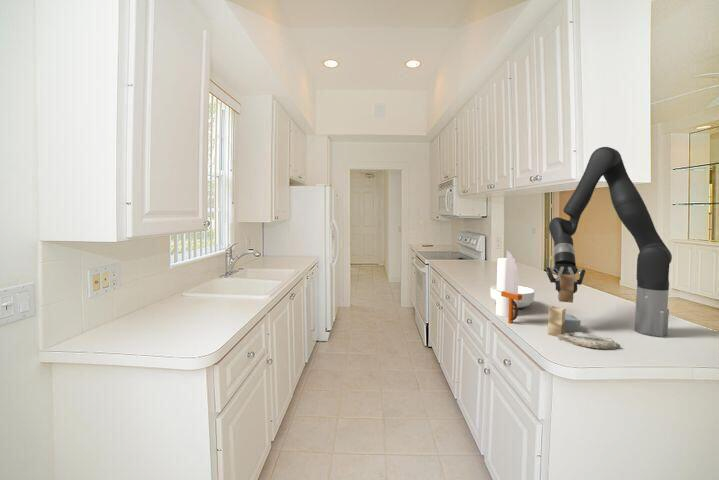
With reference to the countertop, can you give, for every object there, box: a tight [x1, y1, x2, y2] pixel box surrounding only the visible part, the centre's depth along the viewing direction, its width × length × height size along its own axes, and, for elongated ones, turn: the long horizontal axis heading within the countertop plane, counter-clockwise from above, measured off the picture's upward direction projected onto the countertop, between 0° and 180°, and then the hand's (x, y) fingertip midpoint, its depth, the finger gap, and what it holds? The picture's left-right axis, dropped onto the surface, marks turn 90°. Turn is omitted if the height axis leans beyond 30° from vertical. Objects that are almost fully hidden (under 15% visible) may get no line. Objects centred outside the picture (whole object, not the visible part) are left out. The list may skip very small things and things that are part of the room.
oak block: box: [547, 305, 566, 338], centre depth 132 cm, size 4×4×10 cm
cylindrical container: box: [495, 257, 516, 318], centre depth 157 cm, size 7×7×25 cm
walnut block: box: [557, 274, 574, 304], centre depth 137 cm, size 4×4×10 cm
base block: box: [564, 313, 582, 333], centre depth 138 cm, size 8×8×5 cm
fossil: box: [557, 331, 621, 350], centre depth 123 cm, size 18×10×3 cm, turn 53°
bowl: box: [490, 284, 535, 309], centre depth 172 cm, size 20×20×8 cm
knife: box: [501, 250, 522, 324], centre depth 145 cm, size 8×2×30 cm, turn 27°
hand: (566, 291), depth 135 cm, fingers closed on walnut block, 4 cm apart
